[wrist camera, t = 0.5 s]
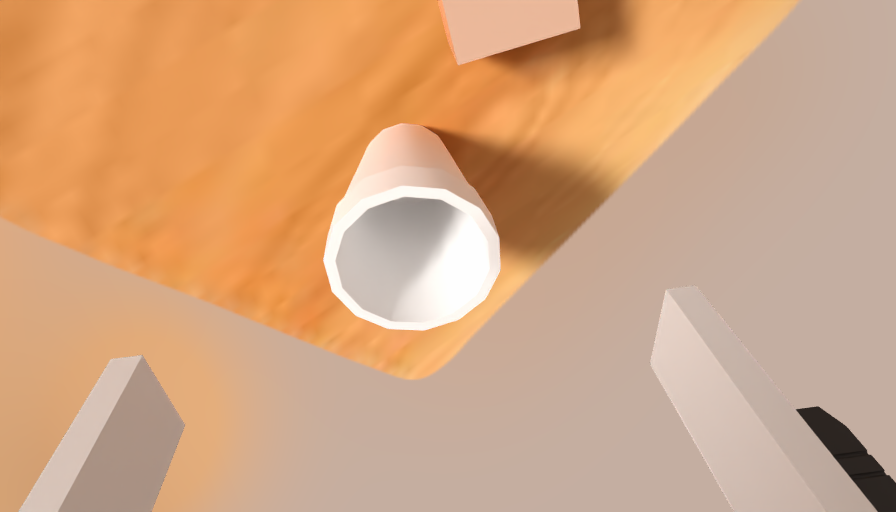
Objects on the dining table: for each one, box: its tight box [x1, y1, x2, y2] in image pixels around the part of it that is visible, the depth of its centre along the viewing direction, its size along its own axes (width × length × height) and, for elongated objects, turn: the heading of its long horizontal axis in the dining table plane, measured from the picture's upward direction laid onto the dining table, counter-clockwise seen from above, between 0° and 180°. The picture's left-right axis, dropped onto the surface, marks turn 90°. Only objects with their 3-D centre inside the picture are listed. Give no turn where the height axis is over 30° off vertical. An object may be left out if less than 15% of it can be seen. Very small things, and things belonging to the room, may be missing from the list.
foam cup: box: [323, 123, 500, 330], centre depth 32 cm, size 10×9×13 cm
